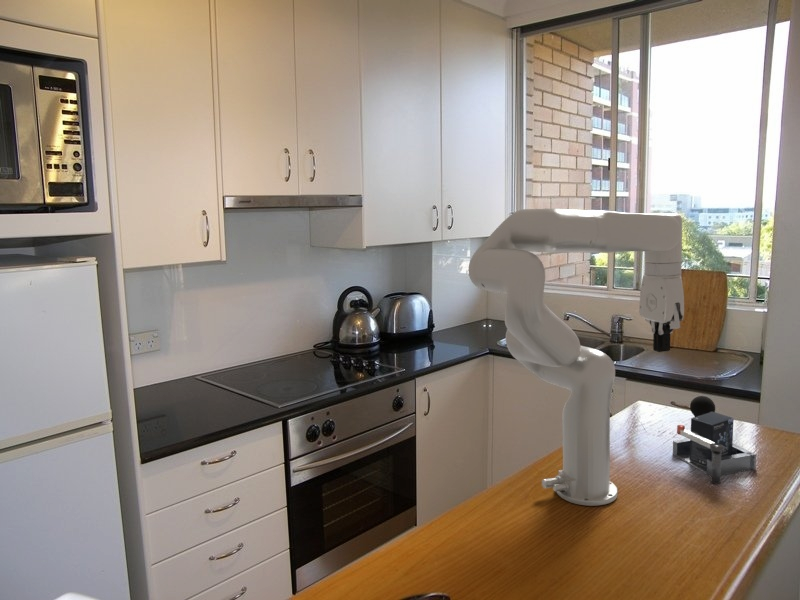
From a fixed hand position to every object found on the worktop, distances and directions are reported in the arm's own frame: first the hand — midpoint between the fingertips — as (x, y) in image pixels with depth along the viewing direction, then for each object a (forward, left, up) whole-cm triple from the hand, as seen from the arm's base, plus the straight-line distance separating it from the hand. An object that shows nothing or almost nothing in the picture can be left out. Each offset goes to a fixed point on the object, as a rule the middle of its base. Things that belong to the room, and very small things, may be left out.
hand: (661, 350), depth 140 cm
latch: (+5, -7, -20) cm, 21 cm away
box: (+11, -3, -27) cm, 29 cm away
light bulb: (+21, +12, -27) cm, 36 cm away
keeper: (+11, -5, -27) cm, 30 cm away
